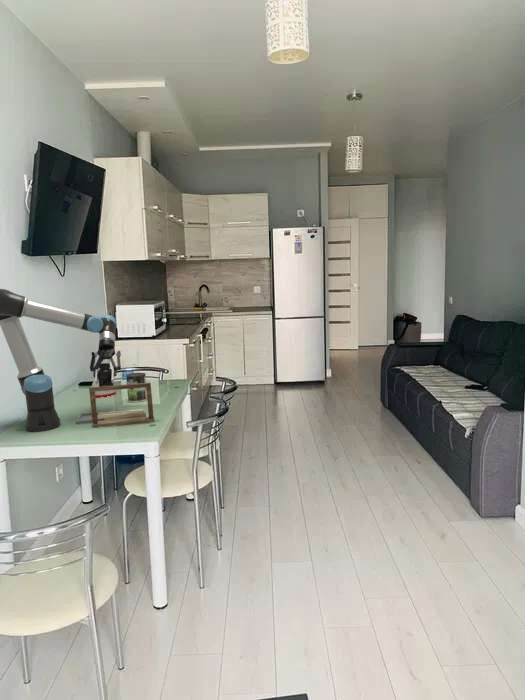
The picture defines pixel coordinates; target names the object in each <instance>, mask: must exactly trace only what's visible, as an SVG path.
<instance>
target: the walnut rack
mask: <svg viewBox="0 0 525 700" xmlns="http://www.w3.org/2000/svg"><path fill="white" fill-rule="evenodd" d="M142 387H146V391H147V400H146V401H147V413H148V416H146V420H141V421H130V422H119V423H108V424H98V418H97V412H98V410H97V409H98V408H97V400H96V399H97V398H95V391H106V390H116V391H117V390H127V389H130V388H142ZM88 390H89V392H88V393H89V400H90V411H91V412H90V413H92V422H93V423H92V424H91V427H94V428H101V427H100V426H105V427H114V426H113V425H116V426H124V425H137V424H145V423H146V424H147V423H154V422H155V421H154V420H155V416H154V407H153V406H154V405H153V396H152V395H153V394H152V383H151V382H146V383H139V384H127V383H125V384H118V385H117V384H116V385H115V384H114V386H102V387H92V386H90V387H89V388H88Z"/></svg>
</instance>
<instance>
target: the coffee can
mask: <svg viewBox="0 0 525 700" xmlns="http://www.w3.org/2000/svg"><path fill="white" fill-rule="evenodd" d="M146 375H147V374H146V373H145V372H133V373H127V374H126V375H125V377H126V379H125V380H126V384H139V383H147V379H146V378H147V376H146ZM126 390H127V399H128V401H127V402H128V403H141V402H140V401H142V402H145V401H144V400H146V401H147V391H146V387H142V388H130V389H126Z"/></svg>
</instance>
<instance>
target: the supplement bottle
mask: <svg viewBox="0 0 525 700" xmlns="http://www.w3.org/2000/svg"><path fill="white" fill-rule="evenodd" d="M99 369H100V370H99ZM99 369H98V382H99V387H102V386H114V385H115V382H114V383H112V380H111V379H112V369H113V368H111V365H110V363H109V362H102V363H101V364H99Z"/></svg>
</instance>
